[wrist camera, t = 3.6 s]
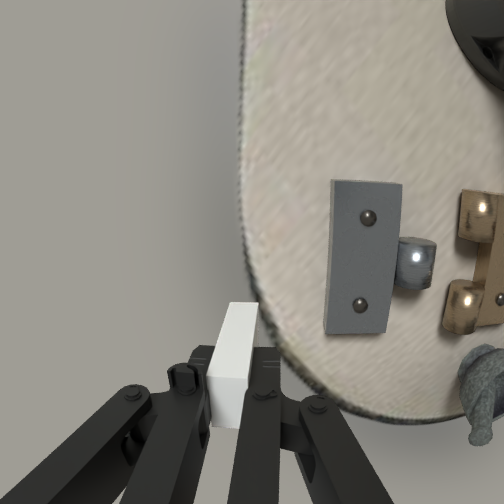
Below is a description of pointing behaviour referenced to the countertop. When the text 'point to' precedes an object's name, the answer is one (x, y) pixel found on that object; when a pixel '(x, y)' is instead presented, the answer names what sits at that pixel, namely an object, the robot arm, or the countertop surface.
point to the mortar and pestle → (482, 391)
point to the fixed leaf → (479, 265)
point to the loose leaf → (369, 256)
